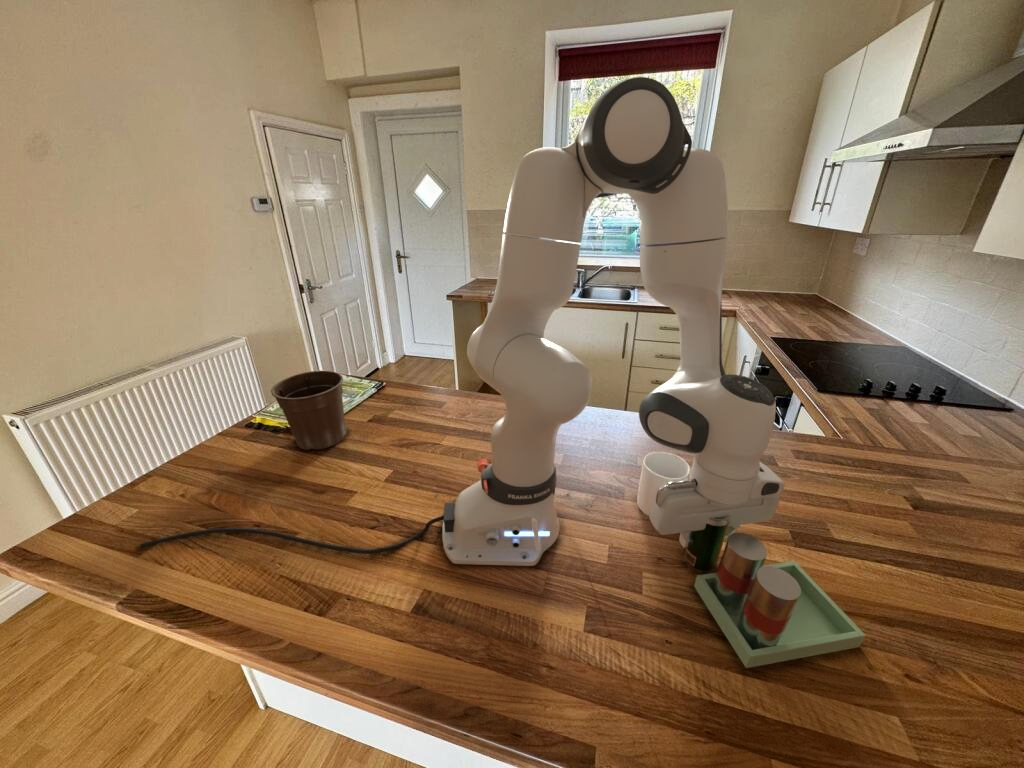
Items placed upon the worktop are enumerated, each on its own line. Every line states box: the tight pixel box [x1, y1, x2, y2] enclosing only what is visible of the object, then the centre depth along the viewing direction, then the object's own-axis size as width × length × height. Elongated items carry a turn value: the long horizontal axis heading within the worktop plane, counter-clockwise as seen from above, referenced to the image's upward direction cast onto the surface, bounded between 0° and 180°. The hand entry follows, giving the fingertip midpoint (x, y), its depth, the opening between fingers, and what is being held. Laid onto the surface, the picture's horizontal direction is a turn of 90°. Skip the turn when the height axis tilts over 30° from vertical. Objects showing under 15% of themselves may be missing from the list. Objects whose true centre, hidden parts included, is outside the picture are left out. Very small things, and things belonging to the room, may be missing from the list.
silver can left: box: [712, 532, 768, 616], centre depth 60 cm, size 5×5×12 cm
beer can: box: [682, 515, 730, 573], centre depth 67 cm, size 5×5×12 cm
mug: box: [636, 451, 691, 517], centre depth 78 cm, size 9×12×11 cm
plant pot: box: [270, 370, 348, 451], centre depth 102 cm, size 16×16×16 cm
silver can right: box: [736, 565, 801, 650], centre depth 55 cm, size 5×5×12 cm
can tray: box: [693, 560, 867, 669], centre depth 60 cm, size 18×13×3 cm
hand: (703, 541), depth 68 cm, fingers closed on beer can, 5 cm apart
